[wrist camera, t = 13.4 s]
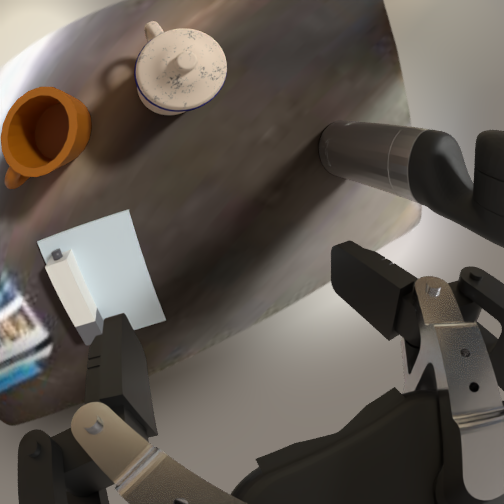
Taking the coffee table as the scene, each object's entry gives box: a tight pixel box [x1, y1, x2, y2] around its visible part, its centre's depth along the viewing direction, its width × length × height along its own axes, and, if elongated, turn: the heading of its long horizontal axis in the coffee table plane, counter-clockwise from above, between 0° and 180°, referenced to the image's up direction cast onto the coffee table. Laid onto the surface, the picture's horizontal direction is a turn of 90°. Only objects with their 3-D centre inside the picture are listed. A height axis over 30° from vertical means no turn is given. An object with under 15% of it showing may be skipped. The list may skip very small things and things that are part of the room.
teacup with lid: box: [134, 21, 227, 115], centre depth 24 cm, size 12×9×12 cm
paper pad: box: [37, 209, 166, 330], centre depth 36 cm, size 14×18×1 cm
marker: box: [45, 248, 104, 346], centre depth 33 cm, size 14×3×3 cm, turn 9°
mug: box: [1, 87, 92, 189], centre depth 22 cm, size 9×12×9 cm
